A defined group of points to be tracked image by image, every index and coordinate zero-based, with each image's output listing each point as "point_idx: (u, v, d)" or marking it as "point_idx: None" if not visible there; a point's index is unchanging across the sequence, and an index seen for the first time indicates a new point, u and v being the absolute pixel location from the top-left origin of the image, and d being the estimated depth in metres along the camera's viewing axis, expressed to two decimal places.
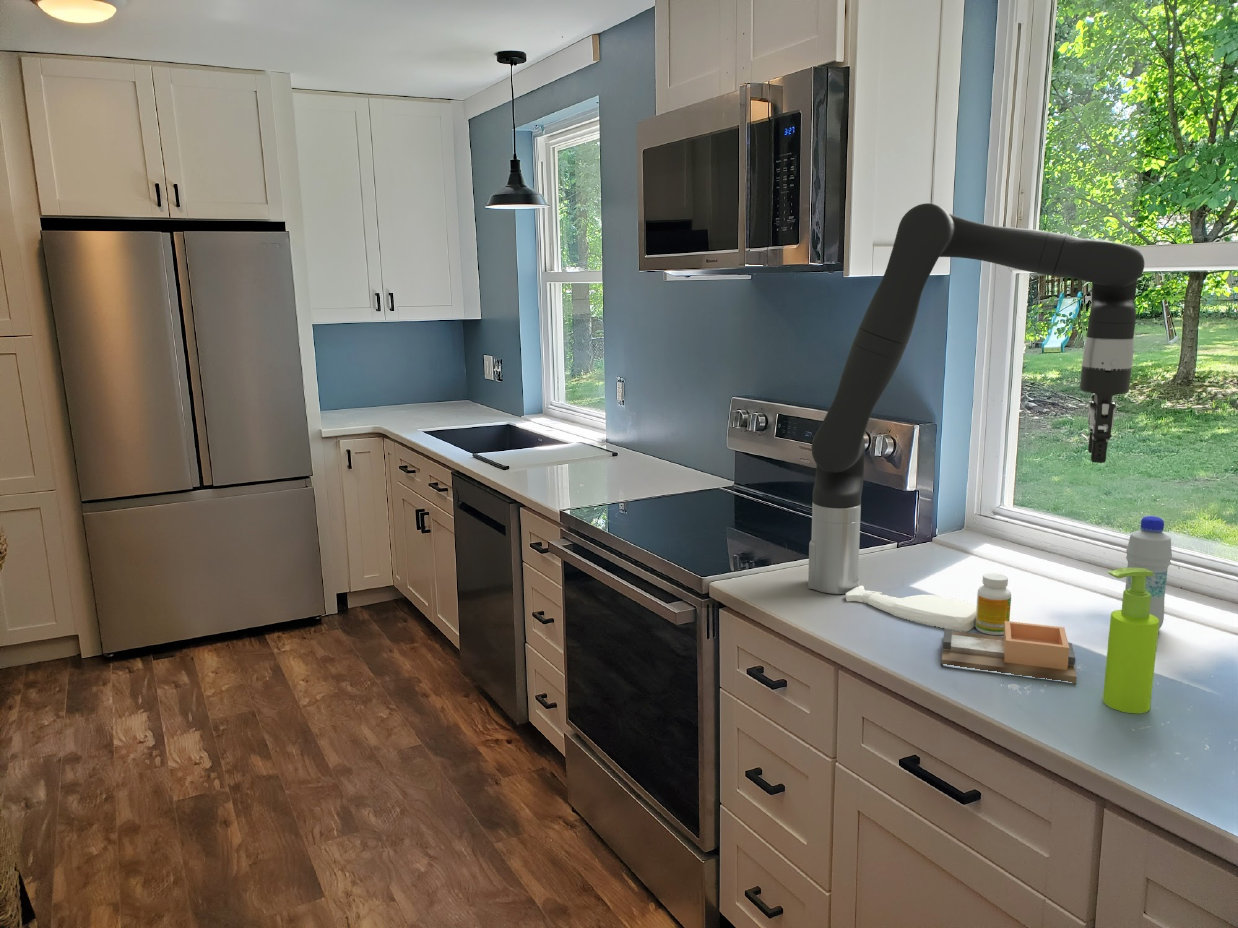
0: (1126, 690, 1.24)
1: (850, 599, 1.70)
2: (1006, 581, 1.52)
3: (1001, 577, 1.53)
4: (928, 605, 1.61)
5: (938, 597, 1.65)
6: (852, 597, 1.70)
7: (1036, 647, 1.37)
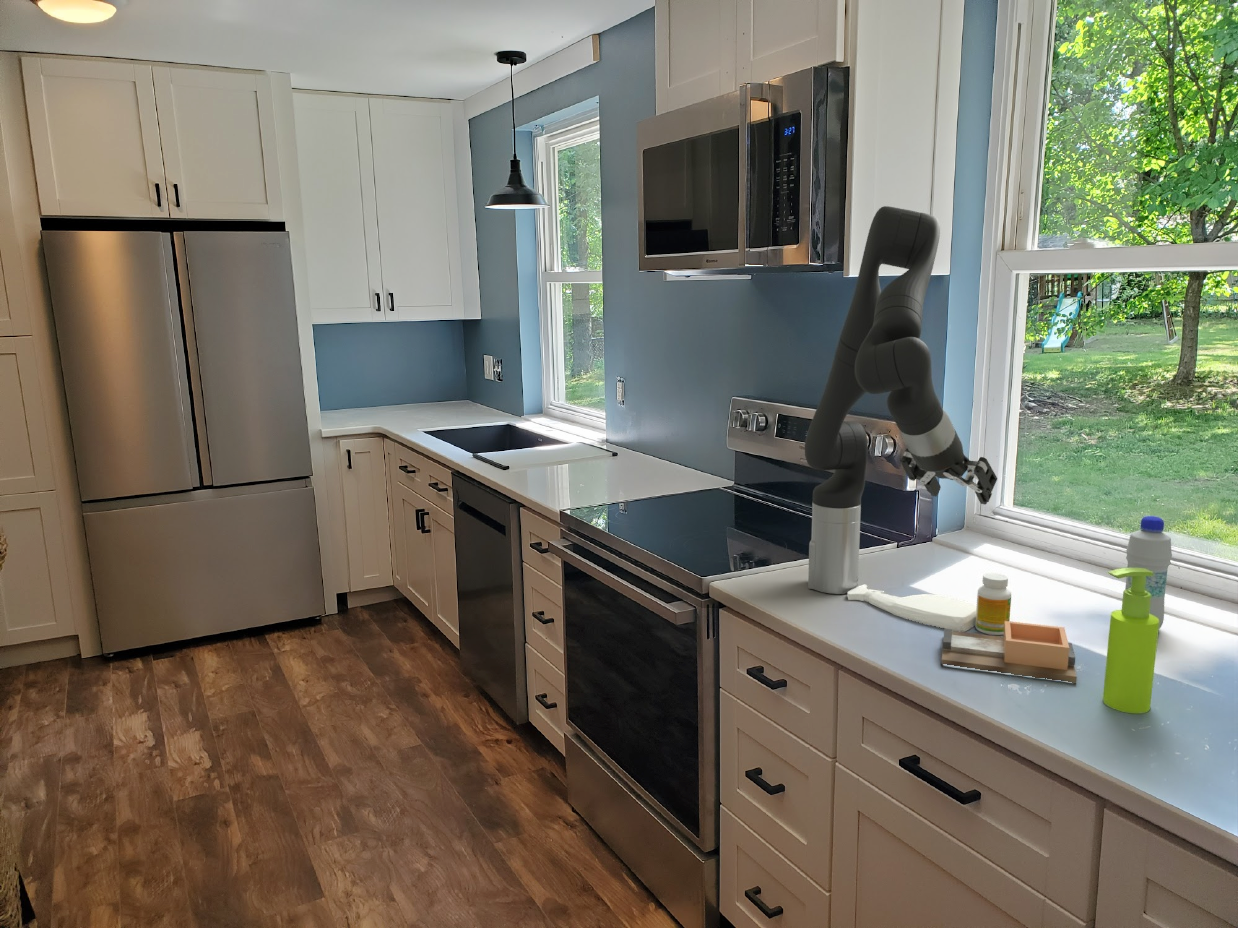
0: (1126, 690, 1.24)
1: (851, 598, 1.71)
2: (1006, 581, 1.52)
3: (1001, 577, 1.53)
4: (927, 605, 1.61)
5: (938, 597, 1.65)
6: (853, 596, 1.71)
7: (1036, 647, 1.37)
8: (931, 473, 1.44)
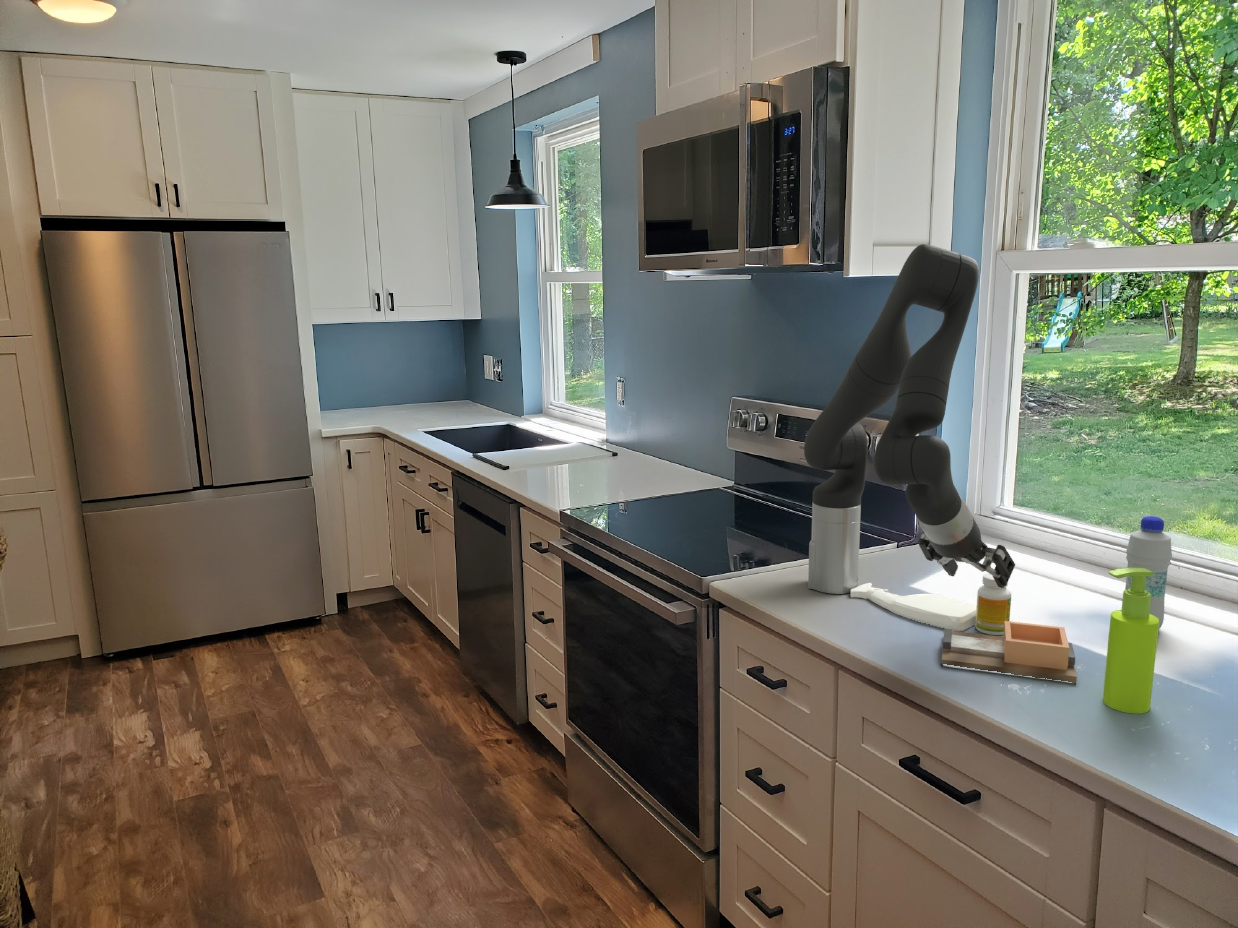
0: (1126, 690, 1.24)
1: (854, 595, 1.72)
2: None
3: None
4: (927, 604, 1.62)
5: (940, 597, 1.65)
6: (855, 593, 1.72)
7: (1036, 647, 1.37)
8: None
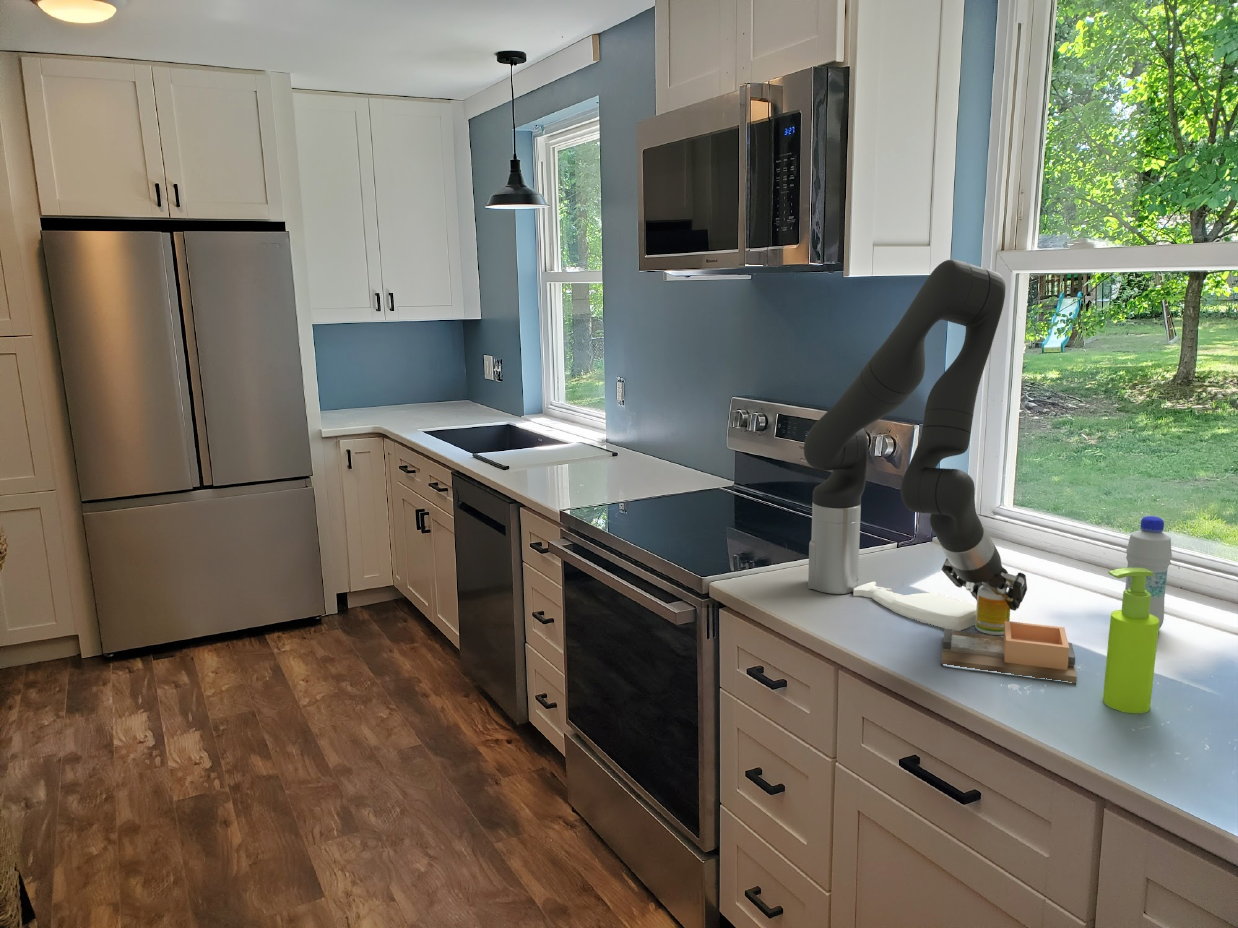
0: (1126, 690, 1.24)
1: (856, 594, 1.73)
2: None
3: None
4: (927, 603, 1.62)
5: (941, 596, 1.66)
6: (858, 592, 1.73)
7: (1036, 647, 1.37)
8: None
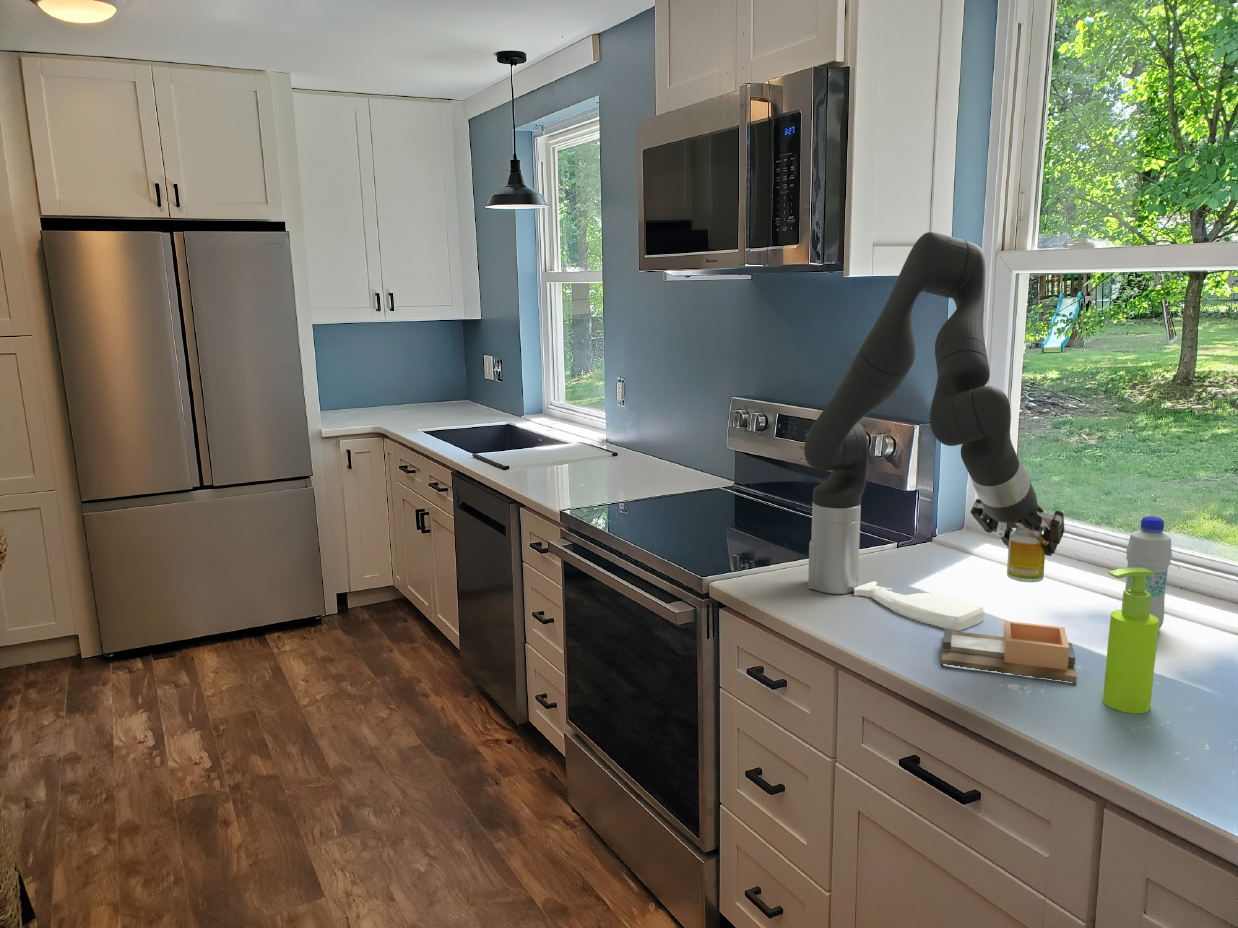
0: (1126, 690, 1.24)
1: (857, 593, 1.74)
2: None
3: None
4: (927, 603, 1.62)
5: (942, 596, 1.65)
6: (859, 591, 1.73)
7: (1036, 647, 1.37)
8: (1002, 523, 1.39)
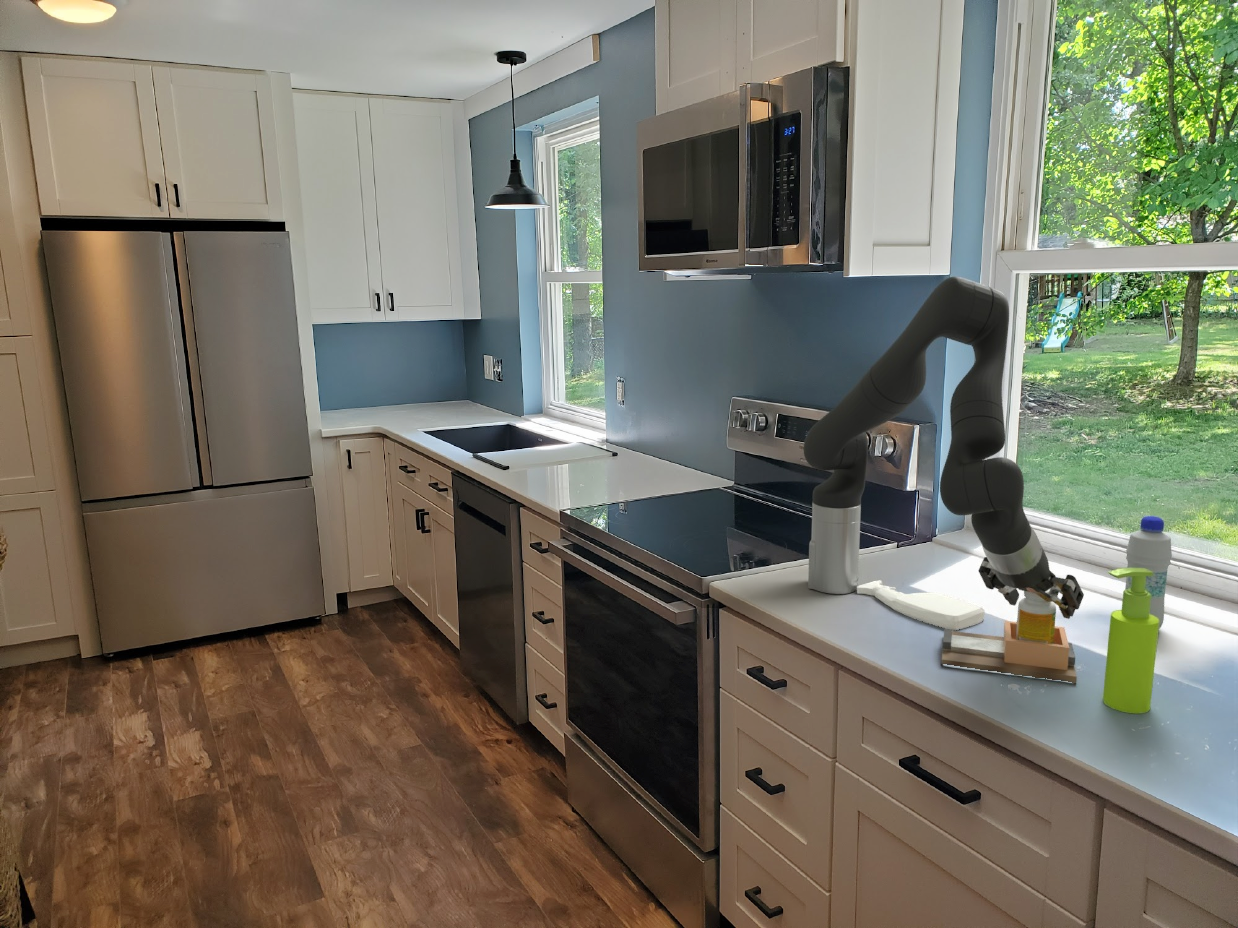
0: (1126, 690, 1.24)
1: (860, 591, 1.74)
2: None
3: None
4: (927, 602, 1.63)
5: (943, 596, 1.66)
6: (862, 589, 1.74)
7: (1036, 647, 1.37)
8: None
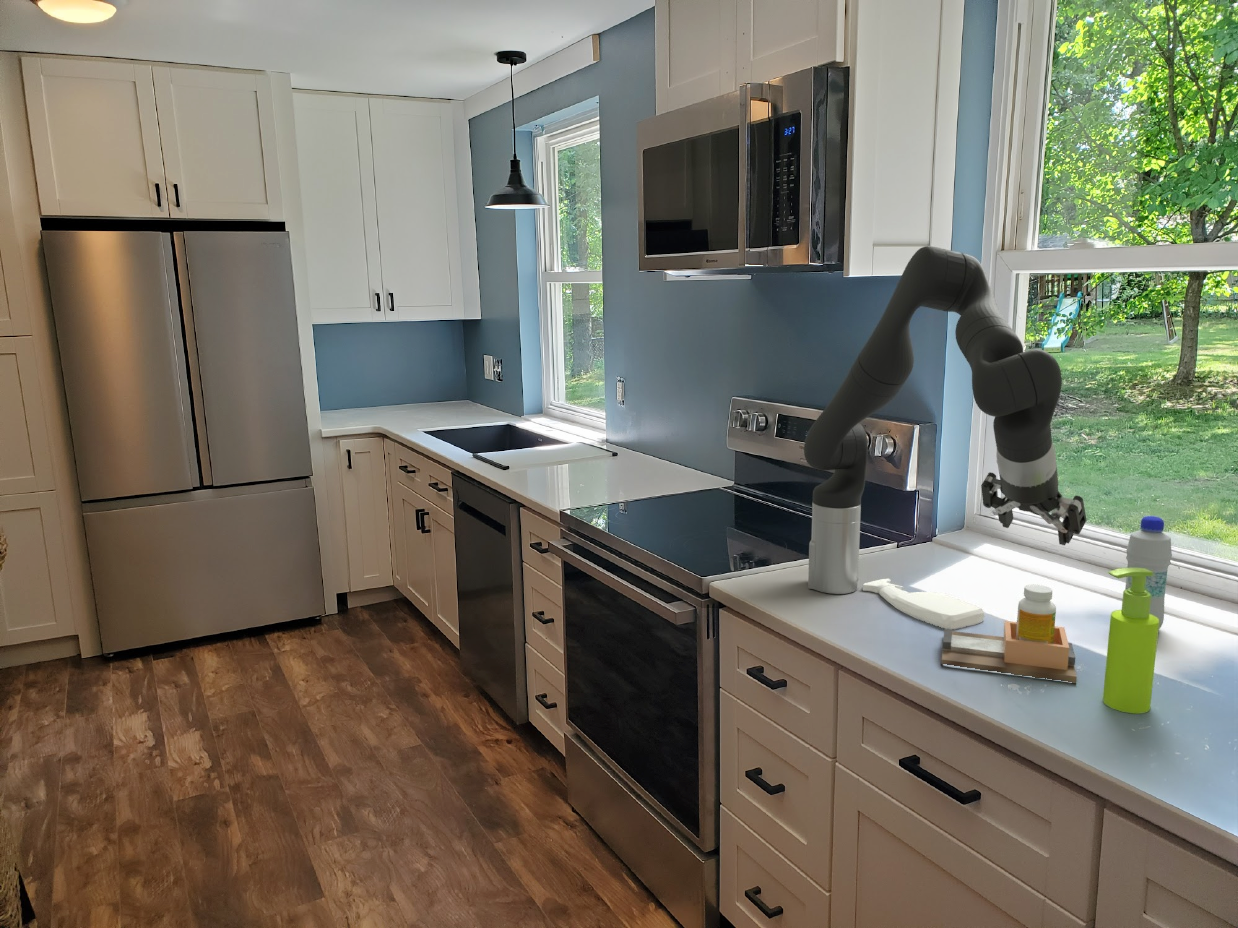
0: (1126, 690, 1.24)
1: (866, 589, 1.76)
2: (1051, 594, 1.38)
3: (1045, 589, 1.39)
4: (927, 601, 1.63)
5: (946, 596, 1.66)
6: (867, 587, 1.76)
7: (1036, 647, 1.37)
8: (1015, 504, 1.32)
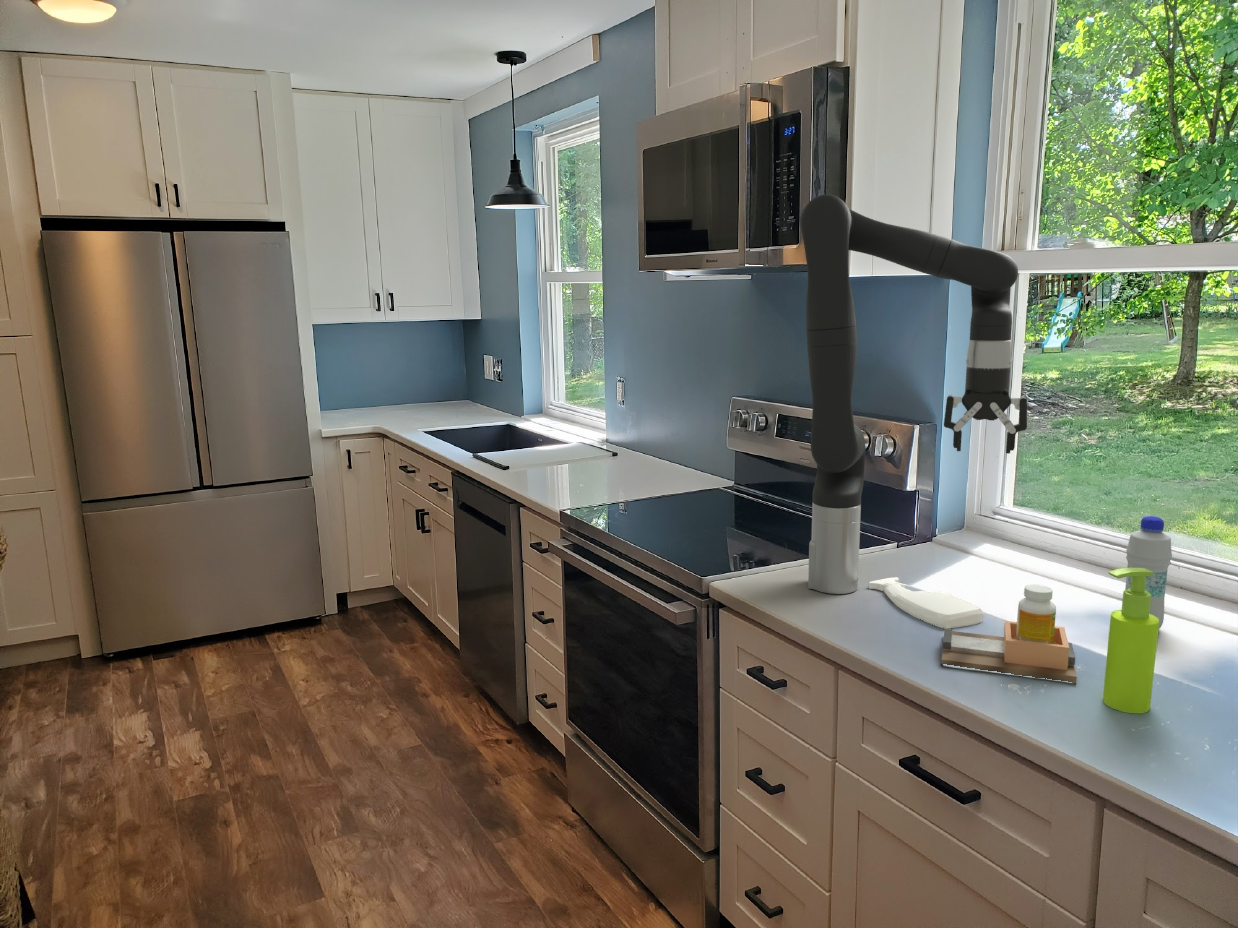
0: (1126, 690, 1.24)
1: (872, 587, 1.77)
2: (1051, 593, 1.38)
3: (1045, 589, 1.39)
4: (927, 600, 1.64)
5: (948, 596, 1.66)
6: (873, 585, 1.77)
7: (1036, 647, 1.37)
8: (977, 406, 1.65)
